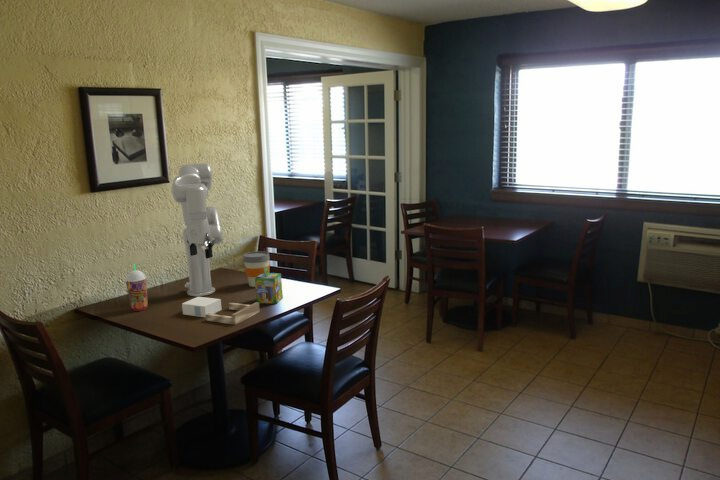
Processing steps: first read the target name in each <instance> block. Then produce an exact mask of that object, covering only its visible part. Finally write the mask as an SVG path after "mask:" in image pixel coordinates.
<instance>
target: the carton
mask: <svg viewBox="0 0 720 480" xmlns="http://www.w3.org/2000/svg"><path fill="white" fill-rule="evenodd" d="M181 309H182V315H186V316H192V317H193V316H194V317H199V318H206V314H208V313H209V314H217V313H218V312H220V311H222V310H223V309H222V299H221V298H212V297H204V296H195V297H194V298H192V299H189V300H187V301H185V302H183V303H181Z"/></svg>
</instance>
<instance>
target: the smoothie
mask: <svg viewBox="0 0 720 480" xmlns="http://www.w3.org/2000/svg"><path fill="white" fill-rule="evenodd" d="M132 266H133V270H131V271H130V272H128V273H127V275H126V277H125V284H126V288H127V293H128V295H127V296H128V299H129V304H130V308H131V309H132V311H133V312H141V311H145V310H147V308H148V305H149V304H148V301H149V300H148V284H147V276H146V274H145V273H144V272H143V271H141V270H139V269H136V264H135V263H133V265H132Z"/></svg>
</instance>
